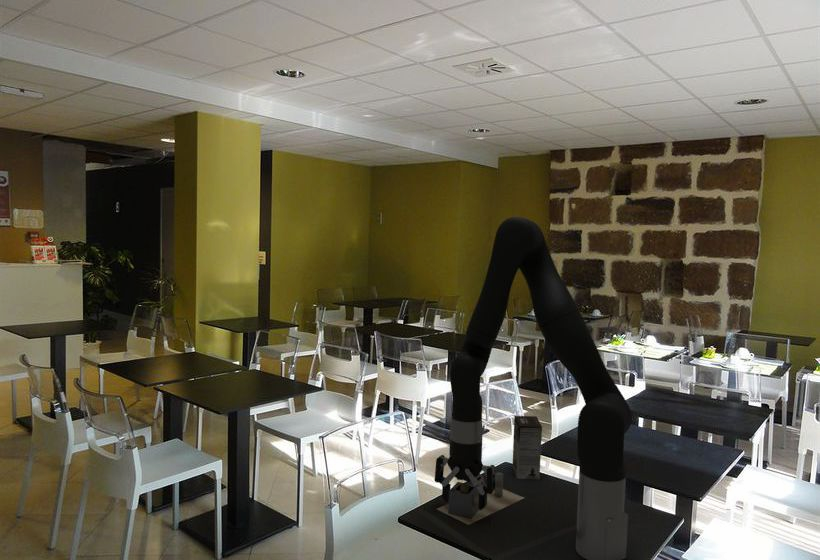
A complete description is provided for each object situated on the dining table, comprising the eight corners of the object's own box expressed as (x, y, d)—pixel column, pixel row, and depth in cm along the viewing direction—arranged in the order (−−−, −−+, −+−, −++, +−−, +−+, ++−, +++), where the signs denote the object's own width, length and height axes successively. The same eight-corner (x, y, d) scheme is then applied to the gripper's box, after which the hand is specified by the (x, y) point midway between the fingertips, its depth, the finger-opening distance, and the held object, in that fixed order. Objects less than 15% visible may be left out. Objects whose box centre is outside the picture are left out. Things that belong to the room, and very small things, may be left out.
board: (492, 490, 154) (493, 460, 153) (524, 503, 147) (525, 472, 146) (436, 515, 140) (437, 482, 139) (468, 531, 132) (469, 496, 132)
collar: (479, 509, 140) (480, 486, 139) (471, 519, 135) (472, 495, 134) (457, 503, 142) (457, 481, 142) (448, 513, 137) (449, 490, 137)
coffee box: (511, 470, 167) (513, 415, 166) (534, 471, 167) (536, 415, 166) (516, 484, 158) (518, 425, 157) (540, 485, 158) (543, 426, 157)
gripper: (500, 437, 138) (498, 505, 139) (443, 427, 144) (441, 492, 145) (490, 447, 131) (488, 518, 132) (431, 436, 137) (429, 504, 138)
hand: (463, 504), depth 138 cm, fingers open, 8 cm apart
